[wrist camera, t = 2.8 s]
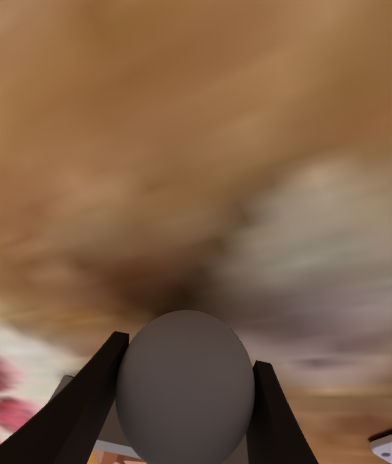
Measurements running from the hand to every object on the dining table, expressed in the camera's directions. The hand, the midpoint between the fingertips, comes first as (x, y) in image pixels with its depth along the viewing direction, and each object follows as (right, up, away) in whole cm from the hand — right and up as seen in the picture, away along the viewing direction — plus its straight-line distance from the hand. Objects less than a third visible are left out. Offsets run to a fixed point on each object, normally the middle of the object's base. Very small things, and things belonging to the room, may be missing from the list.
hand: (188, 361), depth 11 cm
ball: (0, 0, -1) cm, 1 cm away
